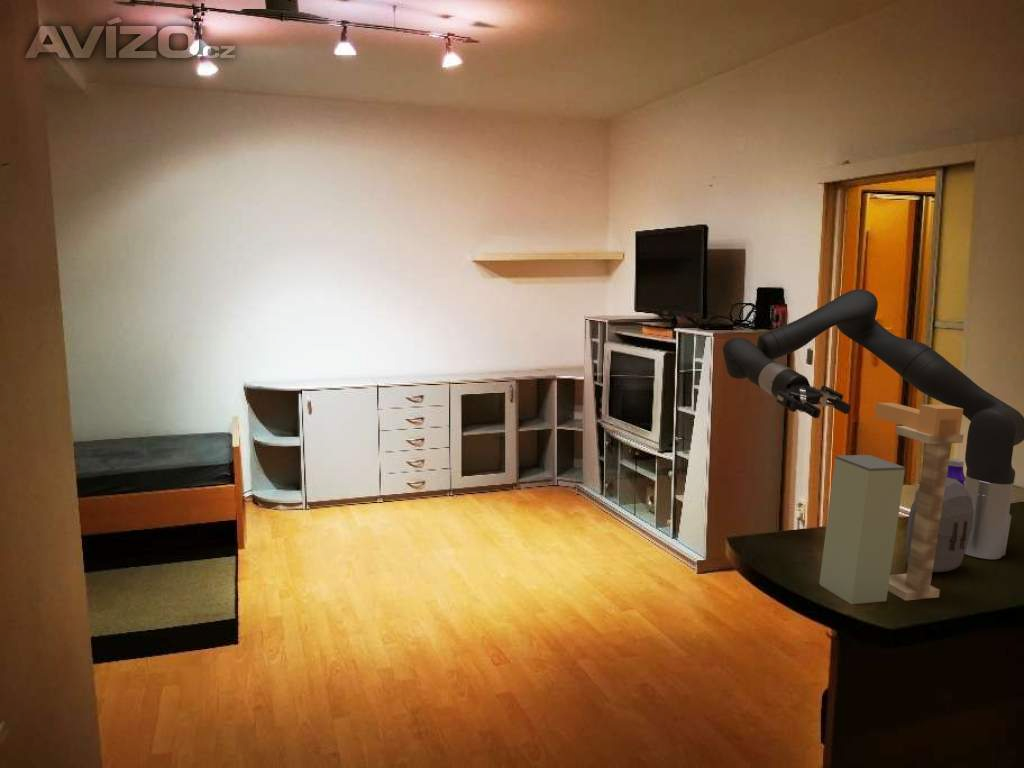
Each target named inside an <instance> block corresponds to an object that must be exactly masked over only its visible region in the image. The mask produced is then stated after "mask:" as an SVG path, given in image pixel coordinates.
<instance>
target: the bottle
mask: <svg viewBox="0 0 1024 768" xmlns="http://www.w3.org/2000/svg"><path fill="white" fill-rule="evenodd" d="M964 466H965V460H964V459H963V460H962V459H959V458H954V457H950V459H949V465H948V472H947V477H948V478H952V479H956V480H957V481H959V482H960V483H961V484H963V485H964V481H965V478H966V475H965V473H964Z"/></svg>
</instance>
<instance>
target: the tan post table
mask: <svg viewBox="0 0 1024 768" xmlns="http://www.w3.org/2000/svg"><path fill="white" fill-rule="evenodd" d="M895 434H896V435H898V436H902V437H905V438H909V439H912V440H914V441H918V442H922V443H924V444H925V446H924V453H923V460H922V466H921V472H920V481H919V487H918V488H919V492H918V499H917V506H916V513H915V520H914V527H913V534H912V541H911V548H910V554H909V561H908V562H907V570H906V573H898V574H890V579H889V586H888V592H889V593H891V594H892V595H895V596H897V597H899V598H900V599H902V600H904V601H905V602H907V601H913V600H914V601H915V600H925V599H936V598H940V593H941V592H940V591H941V590H940V589H939V588H937V587H935V586H933V585H931V583H932V578H933V577H932V576H933V573H934V572H933V565H934V558H935V552H936V545H937V538H938V532H939V525H940V519H941V512H942V505H943V499H944V492H945V485H946V479H947V472H948V465H949V459H950V458H951V451H952V445H953V444H963V442H964V437H965V436H964V434H961V433H960V434H959V435H942V436H933V435H930V434H926V433H923V432H920V431H917V429H914V428H910V427H907V426H903V425H896V426H895Z"/></svg>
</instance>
